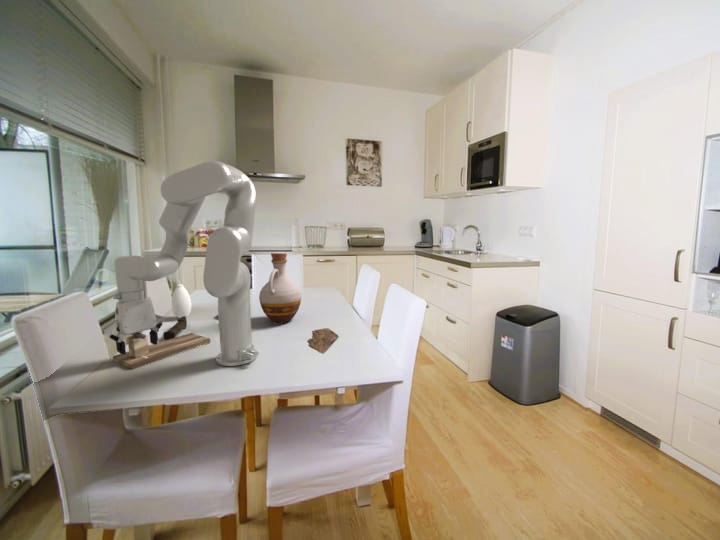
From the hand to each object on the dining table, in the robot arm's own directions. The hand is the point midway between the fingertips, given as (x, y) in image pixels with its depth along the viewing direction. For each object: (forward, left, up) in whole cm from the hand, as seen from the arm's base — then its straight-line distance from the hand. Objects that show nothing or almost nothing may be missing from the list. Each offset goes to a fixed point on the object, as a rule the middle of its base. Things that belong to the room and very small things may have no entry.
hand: (138, 348), depth 109 cm
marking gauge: (0, 0, -2) cm, 2 cm away
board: (0, -8, -4) cm, 9 cm away
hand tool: (+16, -21, -4) cm, 26 cm away
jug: (-9, -53, -4) cm, 54 cm away
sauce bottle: (+32, -33, -4) cm, 46 cm away
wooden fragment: (-39, -45, -4) cm, 60 cm away
